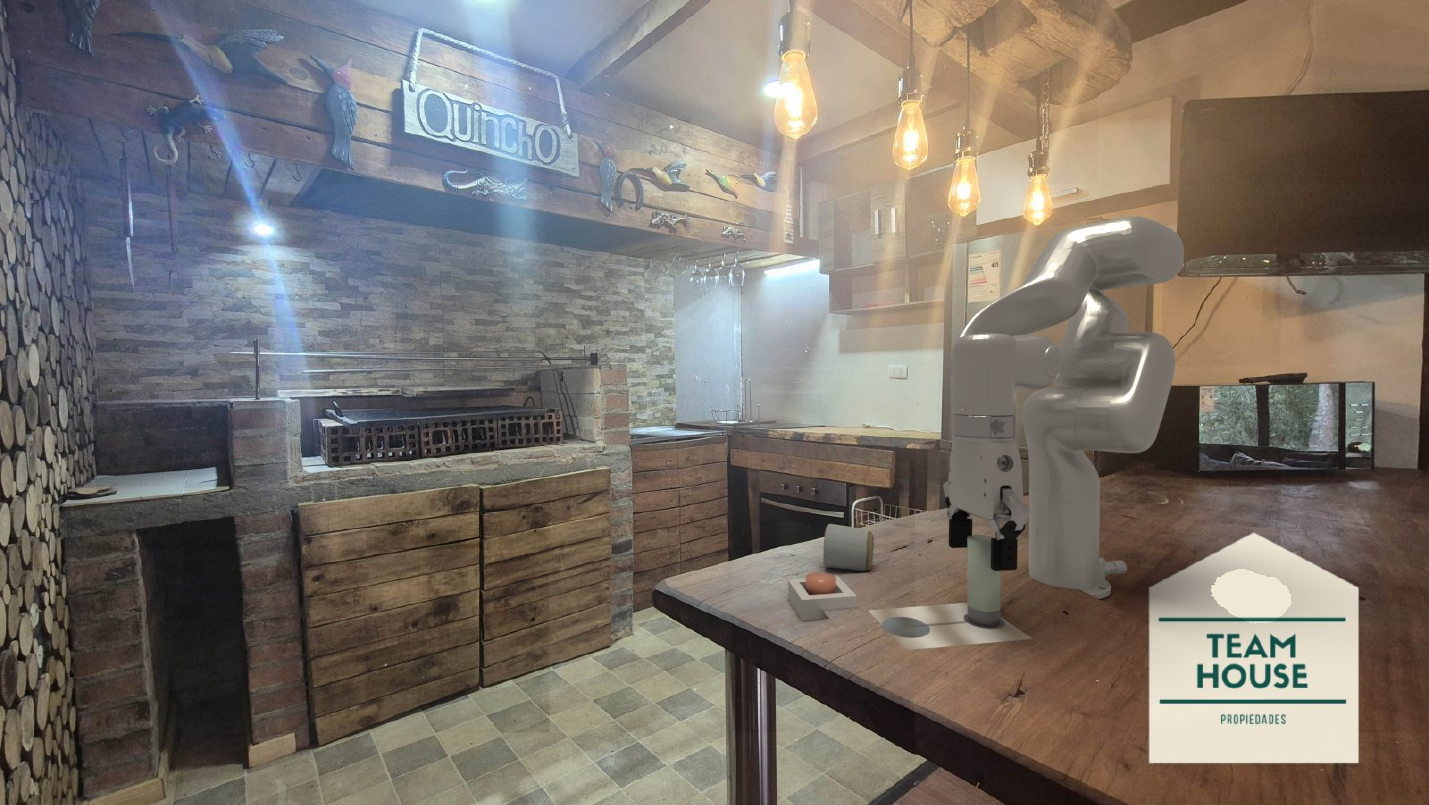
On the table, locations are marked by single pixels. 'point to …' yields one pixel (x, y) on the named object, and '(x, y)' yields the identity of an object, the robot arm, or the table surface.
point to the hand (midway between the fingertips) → (980, 557)
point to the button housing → (819, 599)
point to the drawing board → (941, 627)
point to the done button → (820, 583)
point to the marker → (982, 583)
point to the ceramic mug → (848, 548)
